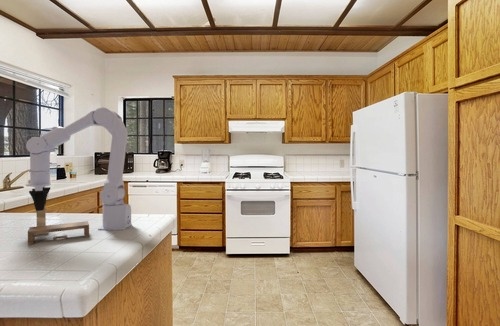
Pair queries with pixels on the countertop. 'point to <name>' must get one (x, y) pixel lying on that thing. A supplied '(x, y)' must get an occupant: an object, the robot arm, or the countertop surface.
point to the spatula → (41, 220)
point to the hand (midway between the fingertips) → (40, 208)
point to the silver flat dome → (60, 237)
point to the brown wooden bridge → (57, 229)
